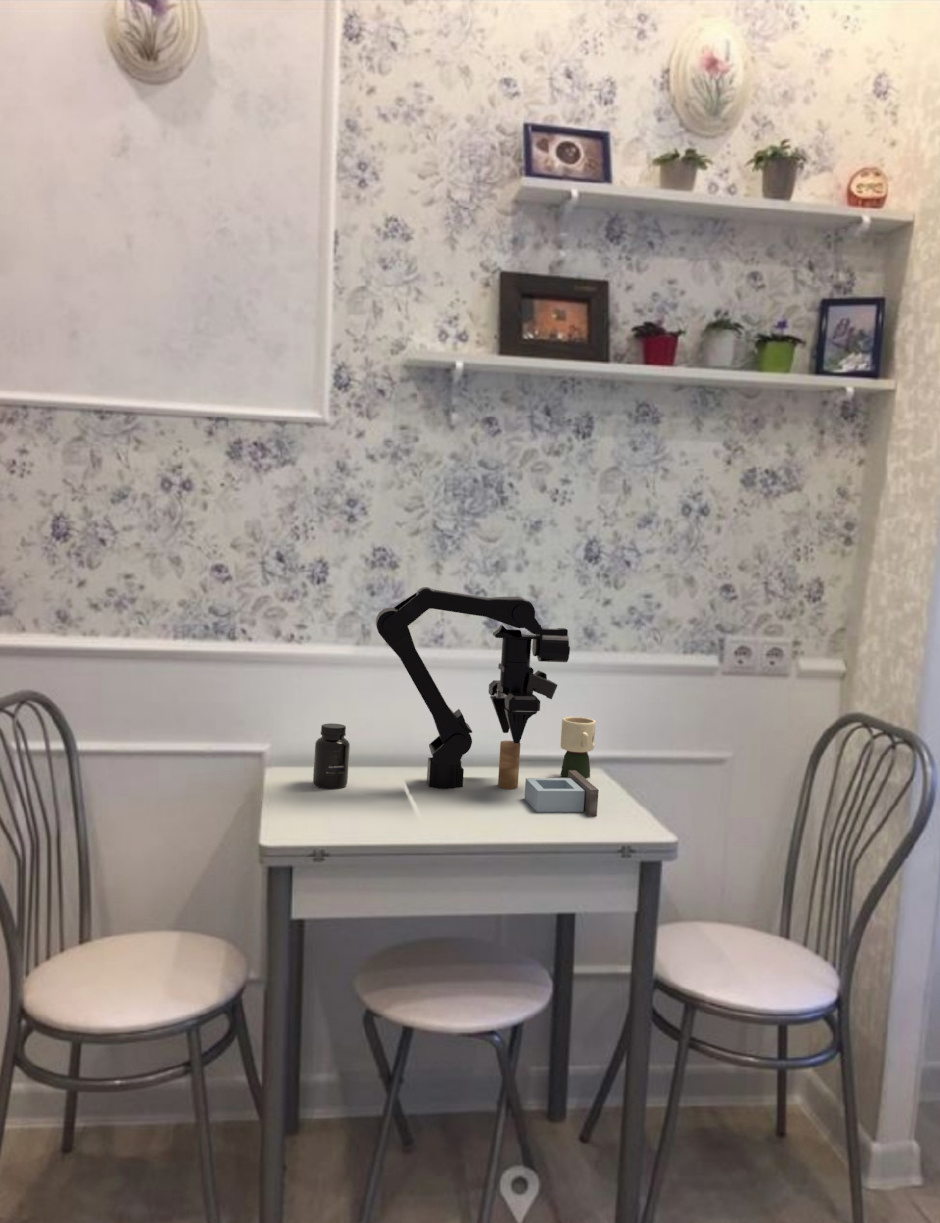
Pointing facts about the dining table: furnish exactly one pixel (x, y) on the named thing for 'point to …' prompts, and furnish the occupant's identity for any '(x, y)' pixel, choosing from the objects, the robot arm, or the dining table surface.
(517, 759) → the dowel
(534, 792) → the sliding block
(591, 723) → the character mug
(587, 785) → the base board
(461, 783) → the robot arm
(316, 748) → the supplement bottle
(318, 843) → the dining table surface
